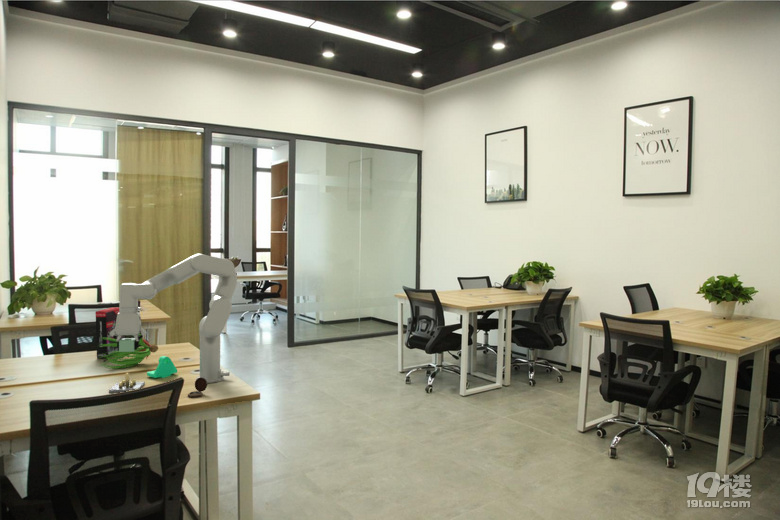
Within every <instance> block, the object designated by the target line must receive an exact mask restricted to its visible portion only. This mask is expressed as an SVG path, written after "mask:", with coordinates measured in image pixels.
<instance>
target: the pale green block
mask: <svg viewBox="0 0 780 520" xmlns="http://www.w3.org/2000/svg"><path fill="white" fill-rule="evenodd" d="M134 344H135V337H131V338H129V337H126V338H125V337H123V339H121V340H120V341H119V352H134V351H135V350H134Z"/></svg>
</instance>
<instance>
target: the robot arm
mask: <svg viewBox="0 0 780 520" xmlns="http://www.w3.org/2000/svg"><path fill="white" fill-rule="evenodd" d="M199 273H203V274H208V275H212V276H218V283H217V285H216V288H215V291H214V293H213V295H212V297H211V299H210V301H209V303H208V304H209V311H208V312H207V315H205V316H204V317H202V318H201V320H200V321H199V326H198V329H199V330H198V331H199V334H198V335H199V376H197V377H196V378H195V381H196V380H197V379H198V378H201V377H202V378H204V379H206V381H207V384H211V383H212V384H213V383H218V382H221V381H223V380H224V377H230V371H224V370H222V368H221V335H222V333H223V331H224V329H225V327H226V324H227V322H228V321H229V320H228V319H229V318H230V315H231V313H232V310H233V309H232V308H233V304H232V301H231V300H232V298H233V295H234V293H235V291H236V287H237V284H238V277H237V271H236V270H235V264H234V263H233V262H232V260H230V259H227V258H222V257H217V256H212V255H207V254H203V253H201V252H200V253H199V252H198V253H195V254H193V255H191V256H189V257H187V258H186V259H184V260H181V261H180V262H178V263H177V264H175V265H173V266H171V267H169V268H167V269H166V270H164V271H162V272H160V273H158V274H156V275H154V276H153V277H151V278H149V279H147V280H146V281H144V282H142V283H134V282H123V283H121V284H120V286H119V307H118V308H119V313H118V315H117V320H116V327H115V328H114V329H113V330H112V331H111V332H110V333H109V334H110V335H111V336H112V337H113V338H114V339H115V340H116V341H117V348H118V350H119V341H120V340H121V338H122V336H123V337H124V336H133V335H134V337H133V338H135V344H134V350H137V349H138V348H139V347H140V345H139V340H140V339H141V338H144V336H145V335H147V334H148V332H147V331H146V330H145V329H144V328H143V327H142V317H141V313H140V311H142V307H139V300H152V299H153V298H155V296H156V295H157V294H158V293H160V292H161V291H163V290H165V289H166V288H169V287H172V286H174V285H179V284H181V283H183V282H184V281H186V280H189V279H190V278H192V277H194V276H195V275H197V274H199ZM114 332H115V333H116V335H115V334H114ZM139 333H140V334H141V335H140V336H139V335H138V334H139ZM117 335H118V336H117Z"/></svg>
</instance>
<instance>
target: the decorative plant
mask: <svg viewBox="0 0 780 520" xmlns="http://www.w3.org/2000/svg"><path fill="white" fill-rule="evenodd" d="M109 325H110V324H109ZM114 325H116V324H114ZM110 328H111V327H110ZM111 329H112V328H111ZM110 332H111V331H110ZM141 334H142V333H139V334H138V335H139V336H140V335H141ZM132 338H135V337H134V335H132ZM101 339H104V337H103V338H101ZM105 340H110V341H114V342H117V341H116V340H115V339H112V338H108V339H105ZM100 345H103V346H110V348H111V347H117V343H112V344H100ZM100 347H102V346H100ZM110 348H109V349H110ZM158 350H159V347H158V345H157V344H155V343H150V342H148V341H147V340H146V339H144V337H142V338H141V339H140V340H139V348H138V349H137V350H135V351H134V352H119V351H114V353H112V352H110V353H111V354H109V355H105V356H102V357H107V356H111V355H113V356H111V357H109V358H108V357H107V358H106V359H104V360H103V361H102V362H103V363H101V362H99V365H101V366H102V367H104V368H107V369H110V370H112V369H113V370H118V369H119V370H120V369H125V368H130V367H135V366H137V365H138V364H140V363H142V361H143V360H144V359H146V360H147V359H148V357H149V356H151V354H152V353H153V354H154V353H156V352H157V351H158ZM103 354H104V353H103ZM114 354H115V355H114ZM126 357H127V358H126ZM100 358H101V357H100ZM124 358H125V359H124ZM107 364H114V366H110V365H107ZM115 365H116V366H115Z"/></svg>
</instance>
